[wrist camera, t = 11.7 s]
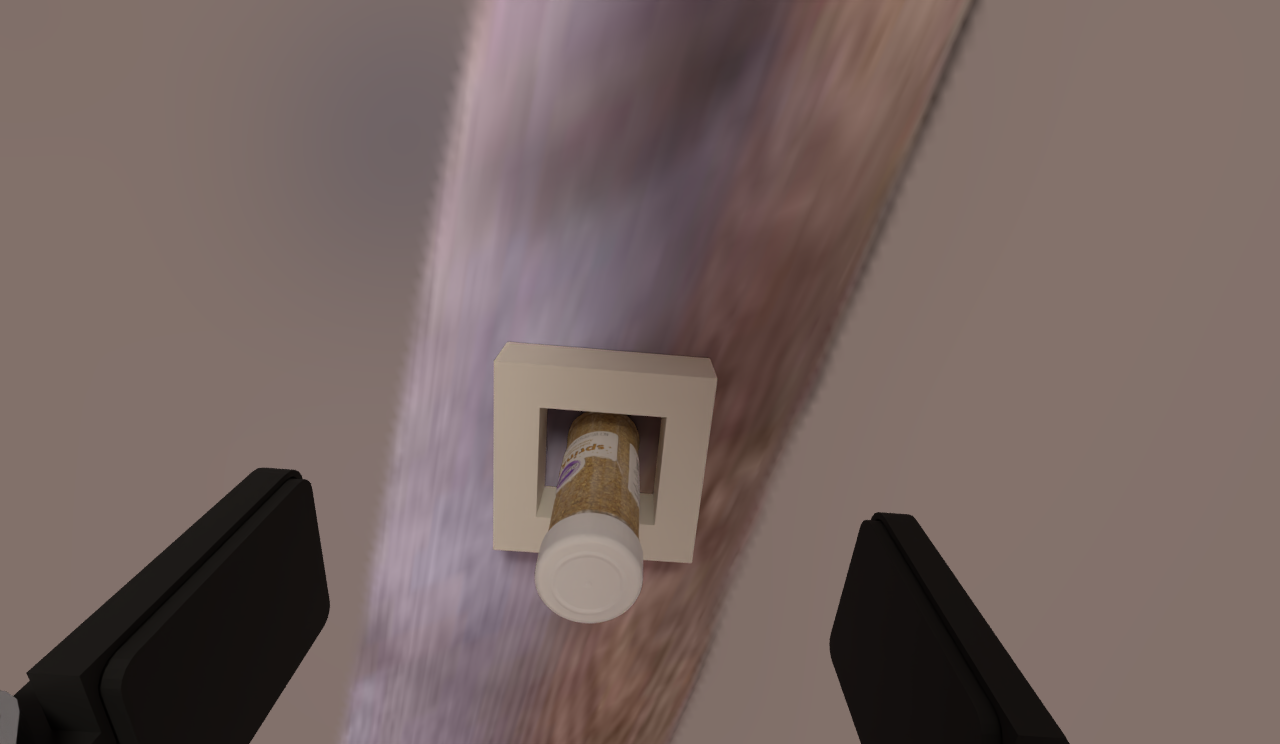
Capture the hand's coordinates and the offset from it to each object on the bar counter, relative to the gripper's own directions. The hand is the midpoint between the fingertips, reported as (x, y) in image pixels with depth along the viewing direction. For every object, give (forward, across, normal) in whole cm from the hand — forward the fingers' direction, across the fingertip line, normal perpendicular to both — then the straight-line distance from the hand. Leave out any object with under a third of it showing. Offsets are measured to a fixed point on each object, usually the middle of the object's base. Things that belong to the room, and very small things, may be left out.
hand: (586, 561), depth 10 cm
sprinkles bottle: (+25, +1, +11) cm, 27 cm away
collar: (+24, +1, +12) cm, 27 cm away
